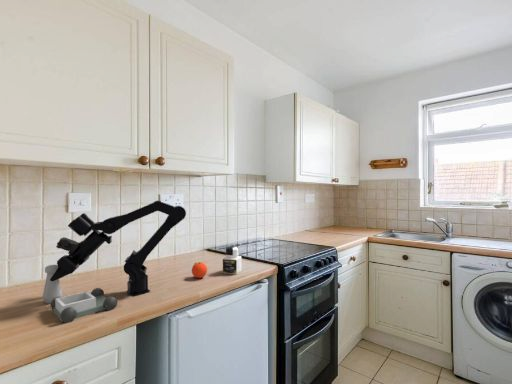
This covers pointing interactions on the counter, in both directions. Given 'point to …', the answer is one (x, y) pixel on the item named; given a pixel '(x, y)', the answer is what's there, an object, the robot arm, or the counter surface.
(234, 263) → the medicine bottle
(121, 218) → the robot arm
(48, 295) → the salt shaker
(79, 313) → the toy wheeled cart
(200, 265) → the clementine
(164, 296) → the counter surface
